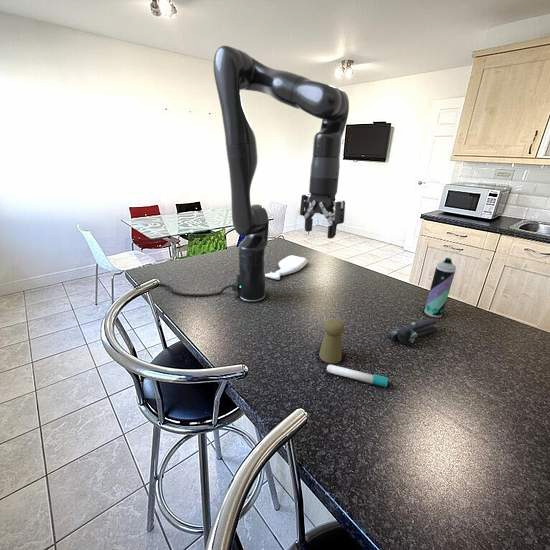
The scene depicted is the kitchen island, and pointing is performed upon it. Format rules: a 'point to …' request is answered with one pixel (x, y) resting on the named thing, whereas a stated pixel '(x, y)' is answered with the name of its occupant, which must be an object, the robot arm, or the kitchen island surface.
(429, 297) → the spray can
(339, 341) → the cork
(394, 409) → the kitchen island surface
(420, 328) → the can opener
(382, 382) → the marker
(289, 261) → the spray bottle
